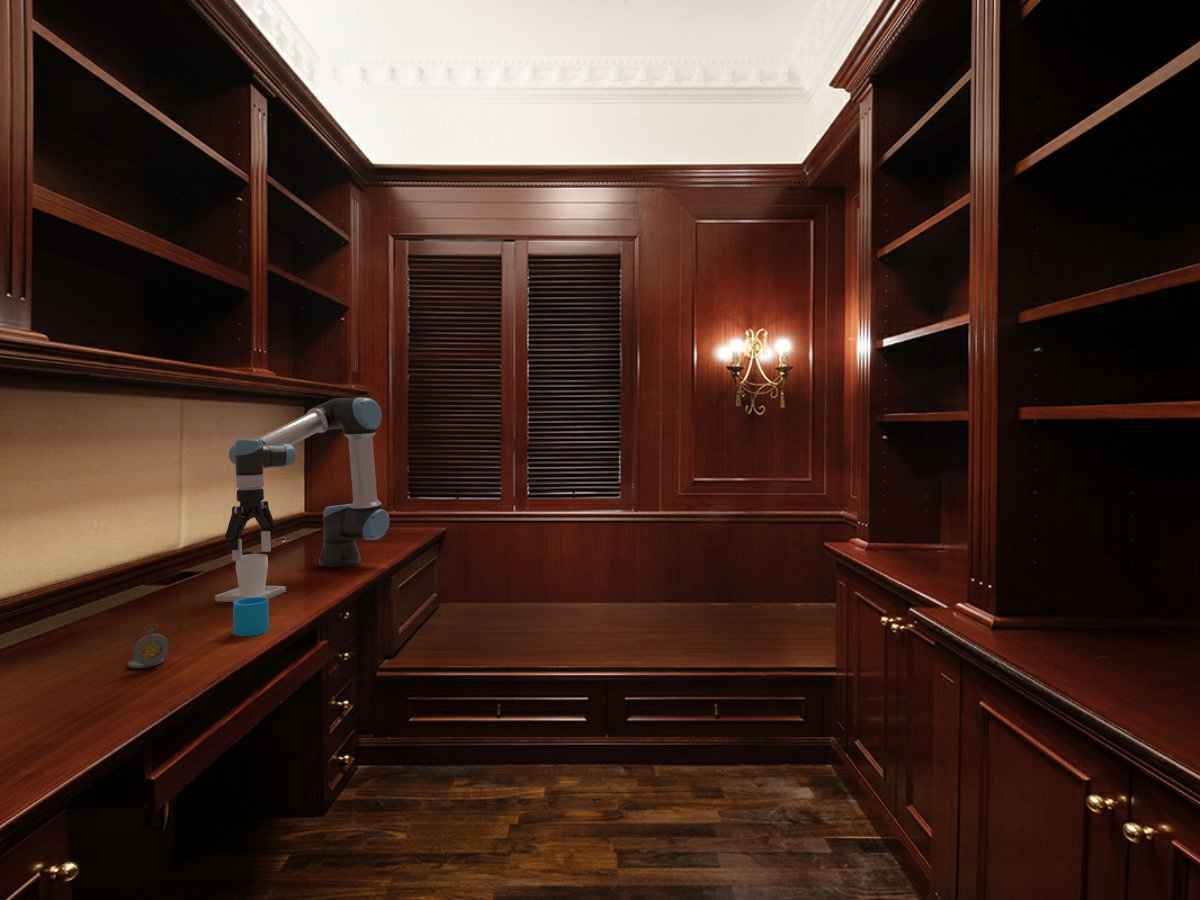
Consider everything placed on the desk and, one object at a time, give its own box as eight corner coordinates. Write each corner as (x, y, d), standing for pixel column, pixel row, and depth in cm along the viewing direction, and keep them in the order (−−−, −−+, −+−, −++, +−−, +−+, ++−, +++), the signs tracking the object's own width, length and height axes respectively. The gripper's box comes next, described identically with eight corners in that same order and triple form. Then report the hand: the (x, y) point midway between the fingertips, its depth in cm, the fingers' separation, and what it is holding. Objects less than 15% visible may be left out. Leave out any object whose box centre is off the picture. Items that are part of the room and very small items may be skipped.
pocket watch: (144, 658, 151) (143, 615, 151) (178, 660, 150) (177, 617, 150) (114, 672, 143) (113, 626, 142) (150, 673, 142) (149, 627, 142)
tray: (246, 590, 214) (246, 584, 214) (285, 592, 212) (285, 586, 212) (215, 602, 200) (215, 595, 200) (257, 603, 198) (257, 597, 198)
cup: (254, 599, 201) (254, 560, 200) (229, 597, 203) (228, 558, 202) (274, 591, 210) (274, 554, 209) (250, 590, 211) (249, 553, 211)
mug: (258, 637, 167) (258, 605, 167) (226, 636, 167) (226, 605, 167) (282, 623, 179) (281, 593, 179) (252, 622, 179) (251, 593, 179)
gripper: (264, 484, 218) (266, 547, 219) (210, 492, 193) (212, 564, 194) (285, 484, 217) (287, 548, 218) (233, 493, 192) (235, 565, 193)
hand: (252, 555), depth 206 cm, fingers open, 13 cm apart
